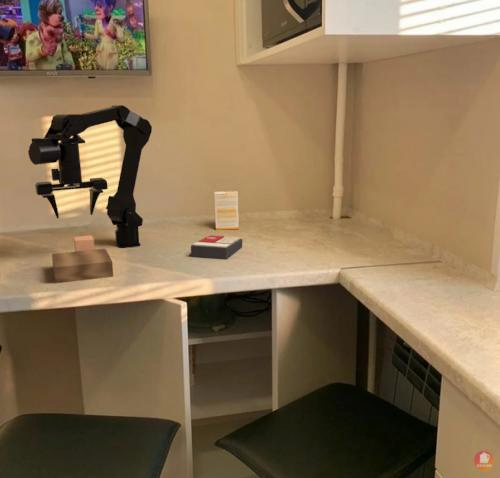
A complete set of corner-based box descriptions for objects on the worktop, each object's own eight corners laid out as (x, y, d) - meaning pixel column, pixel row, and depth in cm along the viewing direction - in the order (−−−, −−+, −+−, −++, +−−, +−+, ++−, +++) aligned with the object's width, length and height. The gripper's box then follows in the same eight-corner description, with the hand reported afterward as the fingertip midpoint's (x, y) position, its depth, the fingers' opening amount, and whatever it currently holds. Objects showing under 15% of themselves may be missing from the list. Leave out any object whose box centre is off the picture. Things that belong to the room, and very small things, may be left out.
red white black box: (242, 236, 168) (226, 245, 154) (242, 250, 169) (226, 260, 155) (209, 234, 172) (190, 242, 157) (209, 247, 172) (190, 257, 158)
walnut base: (106, 262, 153) (105, 248, 152) (113, 276, 141) (112, 261, 140) (53, 268, 148) (51, 253, 148) (55, 283, 136) (53, 267, 135)
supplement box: (238, 226, 197) (237, 190, 194) (238, 229, 192) (238, 192, 189) (215, 227, 197) (214, 190, 194) (215, 230, 192) (214, 192, 189)
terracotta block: (93, 255, 161) (91, 235, 160) (95, 259, 157) (93, 239, 155) (75, 257, 159) (73, 237, 158) (77, 261, 155) (75, 240, 153)
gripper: (98, 156, 163) (102, 208, 167) (30, 160, 155) (37, 214, 159) (105, 159, 153) (110, 214, 157) (34, 164, 146) (40, 222, 149)
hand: (74, 216), depth 156 cm, fingers open, 9 cm apart
